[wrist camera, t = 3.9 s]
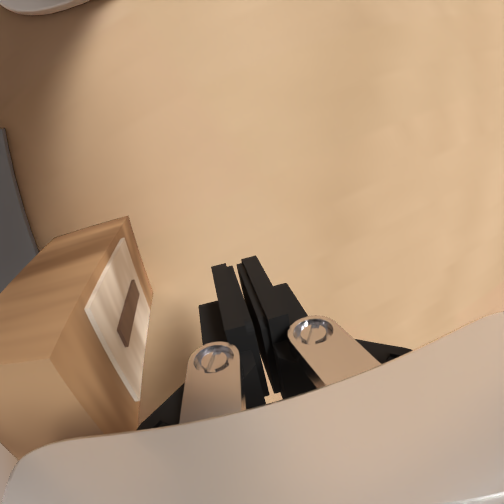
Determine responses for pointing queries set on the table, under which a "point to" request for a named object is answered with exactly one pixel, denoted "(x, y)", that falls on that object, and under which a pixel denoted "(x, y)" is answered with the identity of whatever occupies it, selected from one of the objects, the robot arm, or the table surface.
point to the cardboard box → (74, 339)
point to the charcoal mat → (12, 222)
